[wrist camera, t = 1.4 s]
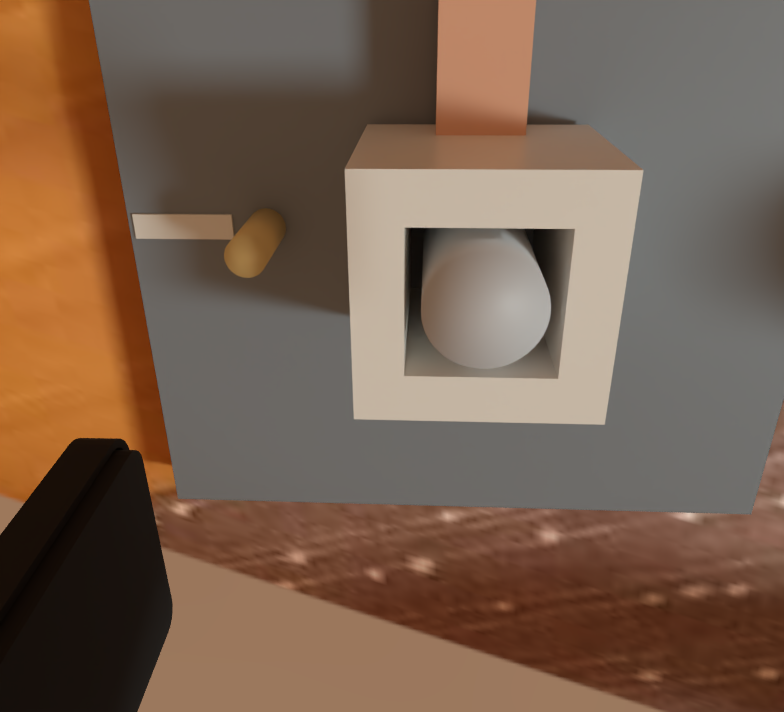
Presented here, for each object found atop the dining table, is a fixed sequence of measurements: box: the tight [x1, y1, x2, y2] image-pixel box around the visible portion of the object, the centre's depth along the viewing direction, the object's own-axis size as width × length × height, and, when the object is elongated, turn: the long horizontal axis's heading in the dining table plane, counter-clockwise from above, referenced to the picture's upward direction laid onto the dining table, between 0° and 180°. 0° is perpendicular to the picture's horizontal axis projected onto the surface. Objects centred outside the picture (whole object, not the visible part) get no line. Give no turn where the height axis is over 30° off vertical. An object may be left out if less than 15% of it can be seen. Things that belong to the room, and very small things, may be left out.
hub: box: [345, 0, 644, 425], centre depth 18 cm, size 11×6×6 cm, turn 0°
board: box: [89, 0, 784, 514], centre depth 20 cm, size 22×22×9 cm
